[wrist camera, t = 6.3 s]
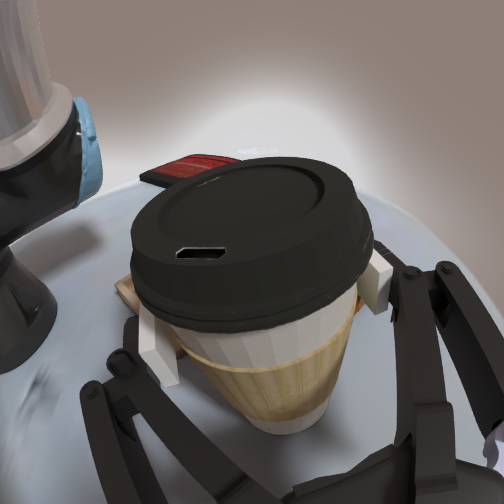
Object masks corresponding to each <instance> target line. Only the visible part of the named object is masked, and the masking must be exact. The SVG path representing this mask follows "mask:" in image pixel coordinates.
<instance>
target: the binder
mask: <svg viewBox="0 0 504 504" xmlns="http://www.w3.org/2000/svg"><path fill="white" fill-rule="evenodd" d="M238 161H241V160H237V159H234V158H229V157H223V156H215V155H205V154H194V155H189V156H187V157H184V158H181V159H178V160H176V161H172V162H170V163H167V164H164V165H162V166H159V167H156V168H154V169H151V170H148V171H146V172H144V173H142V174H140V176H139V177H140V180H141V181H143V182H146V183H149V184H153V185H156V186H159V187H163V188H166V189H167V188H169V187H170V186H172V185H174V184H176V183H178V182H179V181H181V180H183V179H185V178H188V177H190V176H192V175H195V174H197V173H199V172H202V171H205V170H208V169H211V168H214V167H217V166H221V165H225V164H229V163H233V162H238Z"/></svg>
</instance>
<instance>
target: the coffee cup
mask: <svg viewBox="0 0 504 504" xmlns="http://www.w3.org/2000/svg"><path fill="white" fill-rule="evenodd" d="M131 240H132V247H133V251H132V256H131V261H130V269H131V277H132V282H133V284H134V289H135V292H136V294H137V296H138V298H139V300H140V302H141V303H142V305H143V306H144V307H145V308H146V309H147V310H148V311H149V312H150V313H152V314H153V315H154V316H155V317H156V318H158V319H160V320H162V321H164V322H166V323H168V324H170V325H171V327H172V330H173V333H174V336H175V338H176V339H177V341H178V342H179V344H180V345H181V346H182V348H183V349H184V350H185V352H186V353H187V354H188V355H189V357H190V358H191V359H192V360H193V361H194V363H195V364H196V365H197V366H198V367H199V369H200V370H201V371H202V372H203V373H204V374H205V376H206V377H207V378H208V379H209V380H210V381H211V383H212V384H213V385H214V386H215V387H216V388H217V389H218V390H219V392H220V393H221V394H222V395H223V396H224V397H225V398H226V399H227V400H228V402H229V403H230V404H231V405H232V406H233V407H234V408H236V409H237V410H238V411H239V412H241V413H242V414H244V416H245V417H246V418H247V419H248V420H249V421H250V422H251V423H252V424H253V425H254V426H256V427H257V428H258V429H260V430H262V431H265V432H267V433H271V434H275V435H288V434H294V433H297V432H301V431H303V430H305V429H307V428H309V427H311V426H312V425H313V424H314V423H316V422H317V421H318V420H319V419H320V417H321V416H322V415H323V414H324V412H325V410H326V408H327V405H328V402H329V398H330V395H331V392H332V390H333V388H334V386H335V384H336V381H337V378H338V374H339V371H340V367H341V364H342V360H343V356H344V353H345V349H346V345H347V341H348V337H349V333H350V329H351V325H352V321H353V316H354V312H355V307H356V301H357V295H358V294H357V285H356V283H357V280H358V279H359V278H360V276H361V275H362V274H363V273H364V271H365V270H366V268H367V266H368V263H369V261H370V259H371V256H372V254H373V246H374V234H373V231H372V224H371V221H370V218H369V215H368V212H367V209H366V208H365V207H364V205H363V204H362V203H361V201H360V200H359V199H358V198H357V195H356V192H355V189H354V186H353V183H352V180H351V179H350V178H349V177H348V176H347V174H346V173H344V172H343V171H341V170H340V169H338V168H337V167H335V166H332V165H330V164H327V163H325V162H321V161H317V160H313V159H307V158H298V157H265V158H256V159H248V160H243V161H238V162H233V163H229V164H225V165H221V166H217V167H214V168H211V169H208V170H205V171H202V172H199V173H197V174H195V175H192V176H190V177H188V178H185V179H183V180H181V181H179V182H178V183H176V184H174V185H172V186H170V187H169V188H167V189H165V190H164V191H162V192H161V193H159V194H158V195H157V196H155V197H154V198H153V199H152V200H151V201H149V202H148V203H147V204H146V205H145V206H144V207H143V208H142V210H141V211H140V212H139V213H138V215H137V216H136V218H135V220H134V221H133V224H132V228H131Z"/></svg>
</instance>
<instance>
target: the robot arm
mask: <svg viewBox="0 0 504 504" xmlns="http://www.w3.org/2000/svg"><path fill="white" fill-rule="evenodd" d="M102 179H103V169H102V161H101V154H100V149H99V144H98V142H97V140H96V131H95V126H94V123H93V119H92V115H91V112H90V110H89V108H88V105H87V103H86V101H85V100H84V99H83V98H82V97H72V96H71V93H70V92H69V90H68V89H67V88H66V87H65V86H63V85H61V84H58V83H55V82H52V81H51V78H50V73H49V70H48V65H47V61H46V56H45V52H44V47H43V42H42V36H41V31H40V25H39V19H38V12H37V6H36V0H0V374H2V373H5V372H8V371H10V370H12V369H14V368H16V367H17V366H19V365H20V364H22V363H23V362H24V361H25V360H27V359H28V358H29V357H30V356H31V355H32V354H33V353H34V352H35V351H36V350H37V348H38V347H39V346H40V345H41V343H42V342H43V341H44V339H45V338H46V336H47V335H48V333H49V331H50V329H51V327H52V325H53V323H54V320H55V317H56V313H57V303H56V300H55V298H54V297H53V295H52V294H51V292H50V291H49V289H48V288H47V286H46V285H45V284H44V283H42V282H41V281H40V280H39V279H38V278H36V277H35V276H34V275H33V274H32V273H31V272H29V271H28V270H27V269H26V268H25V267H24V266H23V265H21V264H20V263H19V262H18V261H17V260H16V258H15V257H14V255H13V253H12V252H11V250H10V248H9V246H8V245H10V244H11V243H13V242H14V241H16V240H17V239H19V238H21V237H22V236H24V235H26V234H28V233H29V232H31V231H33V230H34V229H36V228H38V227H40V226H42V225H43V224H45V223H47V222H49V221H51V220H52V219H54V218H56V217H58V216H60V215H62V214H64V213H65V212H67V211H69V210H71V209H75V208H76V207H78V206H79V204H80V203H82V202H83V201H85V200H87V199H88V198H90V197H92V196H94V195H95V194H96V193H97V192H98V191H99V189H100V187H101V185H102ZM356 285H357V293H358V295H359V296H360V297H361V298H362V300H363V301H364V302H365V303H366V305H367V306H368V307H369V308H370V310H371V311H372V312H373V314H374V315H377V314H379V313H382V312H384V311H386V310H387V309H388V302H390V303H391V305H392V306H393V310H392V316H391V321H390V322H393V326H394V338H395V354H396V376H397V430H396V435H395V439H394V445H393V444H390V445H388V446H386V447H384V448H382V449H381V450H379V451H377V452H375V453H373V454H371V455H369V456H368V457H367V458H365V459H364V460H363V461H362V462H360V463H359V464H358V465H356V466H355V467H354V468H353V469H351V470H350V471H348V472H346V473H342V474H336V475H330V476H324V477H318V478H315V479H313V480H310V481H307V482H304V483H301V484H299V485H296V486H293V491H291V492H290V493H288V494H287V495H286V496H284V497H283V498H282V499H281V500H278V499H277V498H276V497H274V496H273V495H272V494H271V493H269V492H268V491H267V490H265V489H264V488H263V487H262V486H261V485H259V484H258V483H257V482H256V481H254V480H253V479H252V478H251V477H250V476H248V475H247V474H246V473H245V472H243V471H242V470H241V469H240V468H239V467H238V466H236V465H235V464H234V463H233V462H232V461H231V460H230V459H229V458H228V457H227V456H225V455H224V454H223V453H222V452H221V451H220V450H219V449H218V448H217V447H216V446H215V445H214V444H213V443H212V442H211V441H210V440H209V439H208V438H207V437H206V436H205V435H204V434H203V433H202V432H201V431H200V430H199V429H198V428H197V427H196V426H195V425H194V424H193V423H192V422H191V421H190V420H189V419H188V418H187V417H186V416H185V415H184V414H183V413H182V412H181V410H180V409H179V408H178V407H177V406H176V405H175V404H174V403H173V402H172V401H171V399H170V398H169V397H168V396H167V395H166V394H165V393H164V391H163V390H162V389H161V387H160V382H161V383H162V385H163V386H164V387H169V386H173V385H177V384H179V376H178V368H177V360H176V352H175V343H174V333H173V330H172V327H171V325H170V324H168V323H166V322H164V321H162V320H160V319H158V318H156V317H155V316H154V315H153V314H152V313H150V312H149V311H148V310H147V309H146V308H145V307H144V306H143V305H142V303H141V302H140V309H139V315H137V316H134V317H131V318H128V319H127V321H126V323H125V325H124V335H123V341H124V342H123V348H121V349H117V350H115V351H114V352H112V353H111V354H110V355H109V357H108V359H107V363H106V366H107V369H108V370H109V371H110V372H111V373H112V375H113V376H114V377H113V378H112V379H110V380H109V381H107V382H105V383H103V384H101V383H100V382H99V381H95V380H92V381H89V382H87V383H86V384H84V386H83V387H82V388H81V391H80V403H81V408H82V413H83V418H84V423H85V427H86V432H87V436H88V440H89V444H90V448H91V452H92V456H93V459H94V463H95V466H96V470H97V473H98V476H99V479H100V483H101V486H102V489H103V492H104V494H105V497H106V500H107V503H108V504H168V502H167V500H166V498H165V496H164V494H163V492H162V490H161V488H160V485H159V483H158V481H157V479H156V477H155V475H154V472H153V470H152V468H151V465H150V463H149V461H148V458H147V456H146V454H145V451H144V449H143V446H142V444H141V441H140V438H139V436H138V433H137V431H136V428H135V425H134V422H133V419H132V417H133V416H134V415H136V414H138V413H141V415H142V416H143V418H144V419H145V420H146V422H147V423H148V424H149V425H150V427H151V428H152V429H153V431H154V432H155V433H156V434H157V436H158V437H159V438H160V439H161V441H162V442H163V443H164V444H165V445H166V447H167V448H168V449H169V450H170V451H171V453H172V454H173V455H174V456H175V457H176V458H177V459H178V461H179V462H180V463H181V464H182V465H183V466H184V467H185V468H186V470H187V471H188V472H189V473H190V474H191V475H192V476H193V477H194V478H195V479H196V480H197V481H198V482H199V483H200V484H201V485H202V486H203V487H204V488H205V489H206V490H207V491H208V492H209V493H210V494H211V495H212V496H213V498H214V499H215V500H216V502H217V503H218V504H504V338H503V336H502V334H501V332H500V331H499V329H498V327H497V326H496V324H495V322H494V321H493V319H492V317H491V316H490V314H489V312H488V311H487V309H486V308H485V306H484V305H483V303H482V301H481V300H480V298H479V297H478V295H477V294H476V292H475V291H474V289H473V288H472V286H471V285H470V283H469V282H468V281H467V279H466V278H465V276H464V275H463V273H462V272H461V271H460V269H459V268H458V267H457V266H456V265H455V264H454V263H452V262H449V261H441V262H438V263H437V265H436V268H435V270H432V271H425V272H422V271H421V270H420V269H419V268H417V267H414V266H406V265H405V264H404V263H403V262H402V261H401V260H400V259H398V258H397V257H396V256H395V255H394V254H393V253H391V251H390V250H389V249H387V248H386V247H385V246H384V245H383V244H382V243H381V242H379V241H376V240H374V246H373V254H372V256H371V259H370V261H369V263H368V266H367V268H366V270H365V271H364V273H363V274H362V275H361V276H360V278H359V279H358V280H357V283H356ZM435 324H436V326H437V328H438V331H439V333H440V335H441V337H442V339H443V341H444V343H445V345H446V348H447V350H448V352H449V354H450V356H451V359H452V361H453V363H454V366H455V368H456V370H457V373H458V375H459V377H460V380H461V382H462V385H463V387H464V390H465V392H466V395H467V398H468V400H469V403H470V406H471V408H472V411H473V414H474V417H475V420H476V422H477V424H478V427H479V429H480V431H481V433H482V435H483V437H484V439H485V443H484V449H483V456H484V457H485V458H487V467H483V466H479V465H476V464H472V463H469V462H465V461H462V460H458V459H456V455H455V428H454V414H453V407H452V404H451V403H449V402H447V399H446V391H445V382H444V374H443V367H442V360H441V354H440V347H439V342H438V336H437V331H436V326H435Z"/></svg>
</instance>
